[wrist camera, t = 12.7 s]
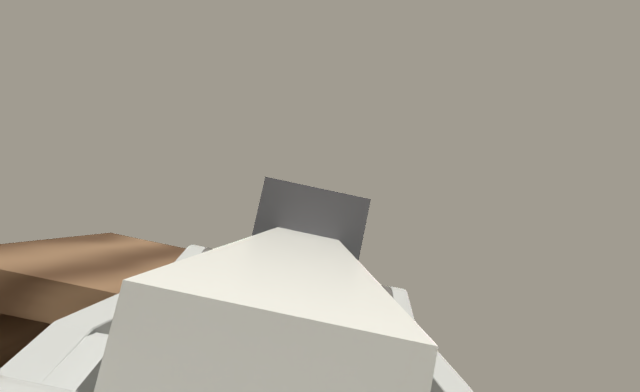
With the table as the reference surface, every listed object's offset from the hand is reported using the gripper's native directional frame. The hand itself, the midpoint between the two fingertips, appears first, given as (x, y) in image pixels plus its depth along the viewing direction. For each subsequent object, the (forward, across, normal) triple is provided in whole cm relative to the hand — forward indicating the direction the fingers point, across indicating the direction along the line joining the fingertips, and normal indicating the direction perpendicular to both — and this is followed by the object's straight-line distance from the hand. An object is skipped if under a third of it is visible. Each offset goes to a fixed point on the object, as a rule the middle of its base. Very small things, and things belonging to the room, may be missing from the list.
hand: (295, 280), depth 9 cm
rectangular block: (+3, 0, +4) cm, 5 cm away
